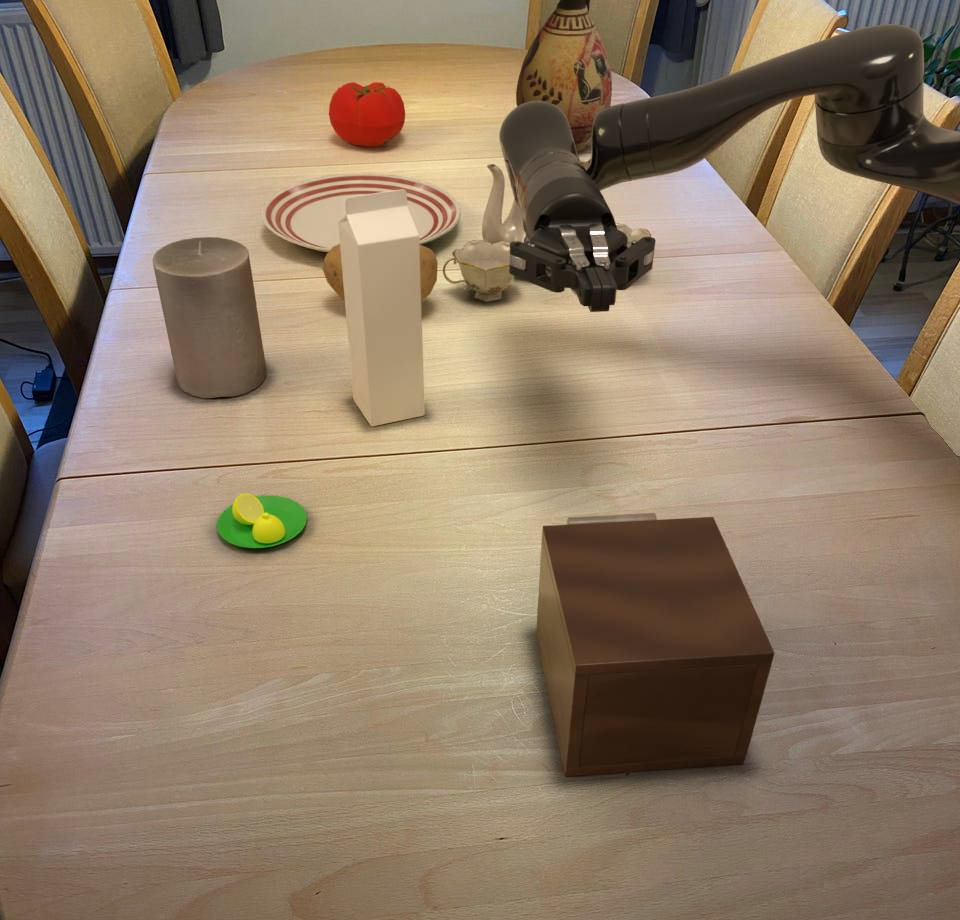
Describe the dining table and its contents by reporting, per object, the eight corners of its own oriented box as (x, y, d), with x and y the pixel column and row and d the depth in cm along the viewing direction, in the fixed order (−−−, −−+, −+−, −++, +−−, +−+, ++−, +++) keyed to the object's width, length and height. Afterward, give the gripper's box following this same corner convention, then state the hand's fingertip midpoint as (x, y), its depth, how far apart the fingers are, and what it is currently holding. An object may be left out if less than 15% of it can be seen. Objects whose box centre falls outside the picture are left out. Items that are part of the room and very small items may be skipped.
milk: (425, 416, 107) (419, 200, 92) (370, 428, 105) (355, 209, 90) (404, 389, 111) (396, 178, 96) (351, 399, 109) (334, 186, 94)
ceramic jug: (579, 167, 164) (594, -57, 144) (497, 150, 170) (501, -68, 150) (627, 139, 174) (648, -73, 154) (549, 123, 180) (559, -83, 160)
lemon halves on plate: (200, 541, 91) (194, 515, 89) (247, 493, 97) (243, 468, 95) (279, 562, 89) (275, 536, 87) (323, 512, 94) (320, 486, 92)
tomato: (427, 142, 173) (425, 85, 167) (371, 160, 166) (367, 101, 160) (372, 124, 180) (368, 68, 174) (316, 140, 173) (310, 83, 167)
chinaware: (468, 331, 125) (474, 195, 112) (417, 265, 135) (418, 135, 122) (665, 292, 133) (691, 162, 121) (604, 233, 143) (622, 108, 131)
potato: (339, 286, 130) (334, 223, 125) (447, 297, 128) (446, 233, 123) (314, 320, 123) (307, 254, 118) (428, 331, 121) (426, 265, 116)
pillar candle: (223, 349, 118) (200, 216, 108) (285, 373, 114) (267, 238, 103) (158, 382, 112) (127, 246, 102) (221, 409, 108) (195, 270, 98)
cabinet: (535, 634, 82) (542, 525, 75) (692, 624, 83) (713, 516, 76) (565, 777, 71) (576, 665, 64) (744, 763, 72) (775, 652, 65)
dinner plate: (499, 241, 141) (499, 217, 139) (322, 288, 130) (319, 262, 128) (396, 183, 158) (395, 160, 156) (231, 220, 147) (228, 196, 144)
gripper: (493, 177, 90) (518, 255, 77) (642, 173, 91) (691, 249, 78) (492, 262, 95) (516, 348, 82) (633, 257, 96) (678, 341, 83)
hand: (601, 300), depth 80 cm, fingers closed
